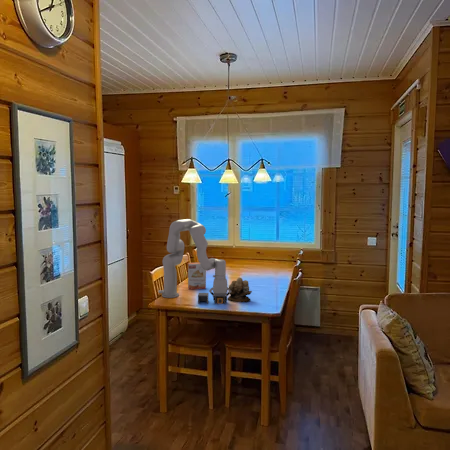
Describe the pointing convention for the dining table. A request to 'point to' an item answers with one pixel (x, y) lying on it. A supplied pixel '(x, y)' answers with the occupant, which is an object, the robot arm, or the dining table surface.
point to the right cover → (219, 296)
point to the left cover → (203, 297)
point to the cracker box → (196, 276)
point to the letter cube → (219, 300)
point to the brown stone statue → (239, 291)
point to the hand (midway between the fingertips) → (220, 301)
